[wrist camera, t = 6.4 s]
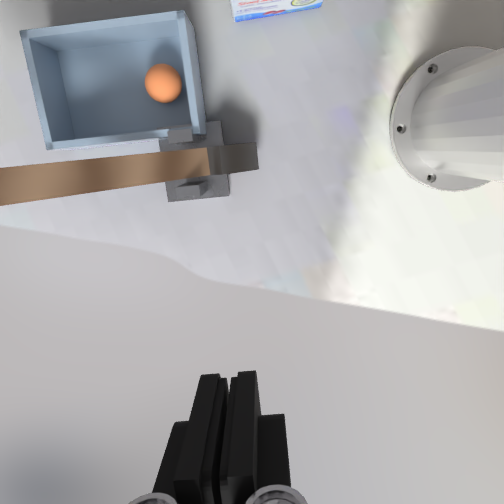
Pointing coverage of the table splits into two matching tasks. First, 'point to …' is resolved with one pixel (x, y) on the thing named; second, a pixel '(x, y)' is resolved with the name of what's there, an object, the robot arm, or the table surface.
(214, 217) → the table surface
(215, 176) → the fulcrum
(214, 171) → the lever
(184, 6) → the table surface
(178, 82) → the ball
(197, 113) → the bin
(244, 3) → the medicine box
